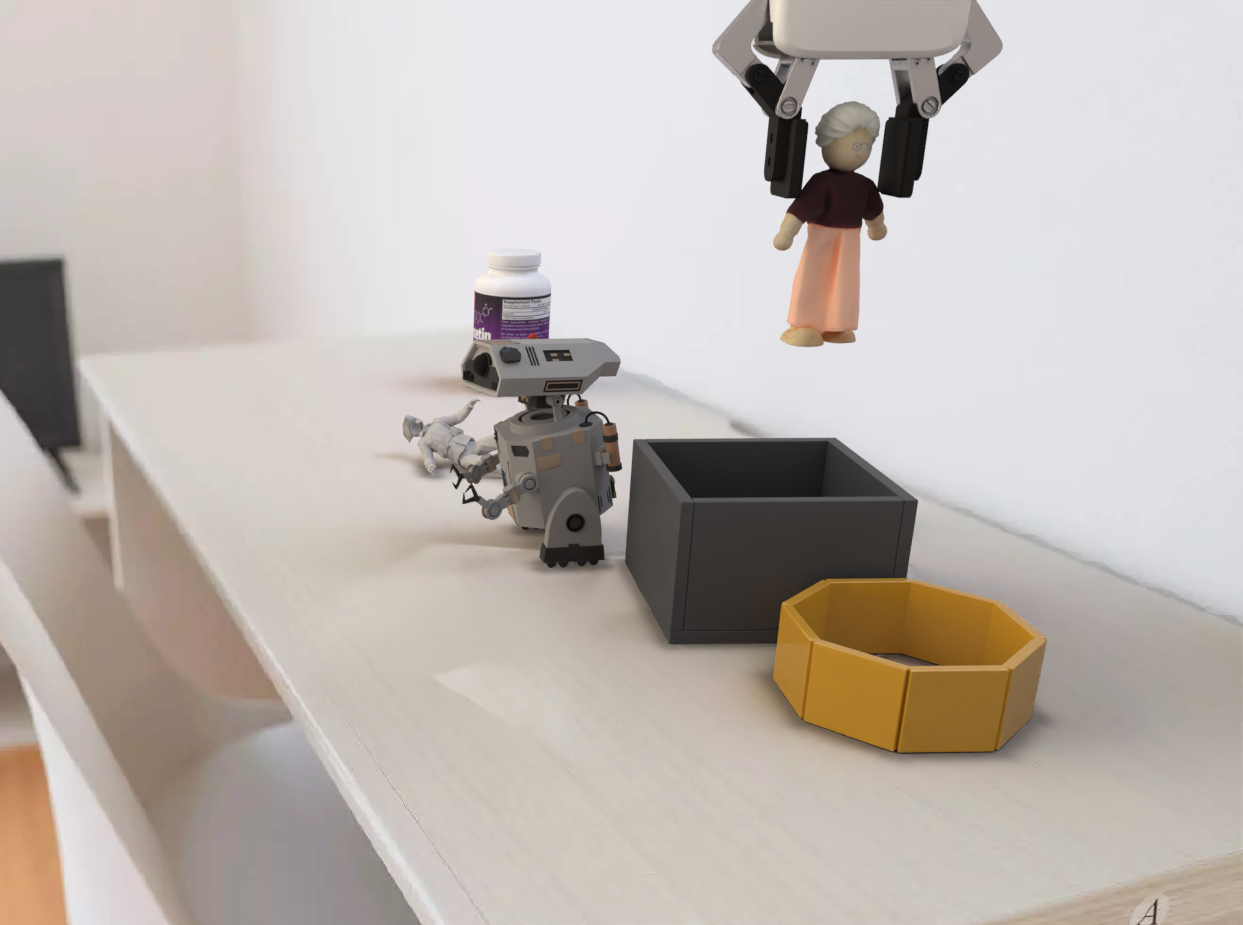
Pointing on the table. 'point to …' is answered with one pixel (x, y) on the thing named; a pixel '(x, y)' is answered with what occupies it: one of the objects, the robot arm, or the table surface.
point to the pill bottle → (512, 297)
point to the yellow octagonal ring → (908, 695)
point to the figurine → (548, 441)
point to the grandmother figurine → (833, 230)
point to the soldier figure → (449, 440)
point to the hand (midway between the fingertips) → (839, 192)
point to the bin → (755, 529)
